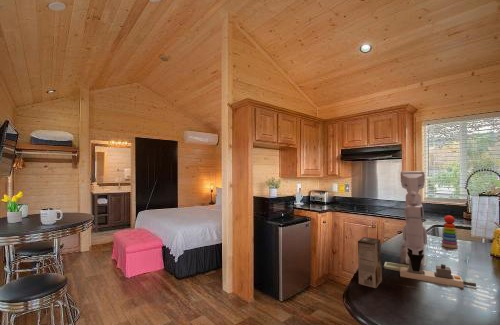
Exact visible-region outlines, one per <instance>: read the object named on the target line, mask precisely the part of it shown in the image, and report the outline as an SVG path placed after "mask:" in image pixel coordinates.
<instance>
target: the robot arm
mask: <svg viewBox="0 0 500 325" xmlns="http://www.w3.org/2000/svg"><path fill="white" fill-rule="evenodd" d="M425 180H426V178H425V171H424V170H401V171H400V185H401V188H402V189H405V190H406V192H407V193H406V194H405V207H404V218H405V224H404V225H403V226H402V241H403V242H404V243H403V247H405V249H406V250H405V254H406V257H405V264H406V265H409V259H410V261H411V265H412V269H413V271H418V272H419V270H420V265H421V262H422V267H427V264H426V260H425V245H427V244H428V234H427V228H426V227H425V226H424V225H423V224H424V223H423V220H424V217H425V216H424V215H425V214H424V212H425V211H424V207H423V204H422V195H421V194H420V193H419V192H420V190H421V189H424V187H425V184H426V181H425Z"/></svg>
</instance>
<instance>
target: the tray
mask: <svg viewBox="0 0 500 325" xmlns="http://www.w3.org/2000/svg"><path fill="white" fill-rule="evenodd" d="M401 267H406V268H409V264H404V263H395V262H388V261H385V262H384V265H383V269H384V270H391V271H397V272H400V268H401Z"/></svg>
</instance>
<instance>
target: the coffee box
mask: <svg viewBox="0 0 500 325" xmlns="http://www.w3.org/2000/svg"><path fill="white" fill-rule="evenodd" d="M357 257H358V258H357V259H358V260H357V261H358V262H357V263H358V268H357V269H358V284H359V285H362V286H365V287H369V288H374V289H377V288H378V287H379V285H380V284H381V283H382V282H383V275H382V274H383V272H382V243H381V239H378V238H374V237H373V238H372V237H368V236H367V237H365V236H364V237H362V238H360V239H359V240H358V241H357Z"/></svg>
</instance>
